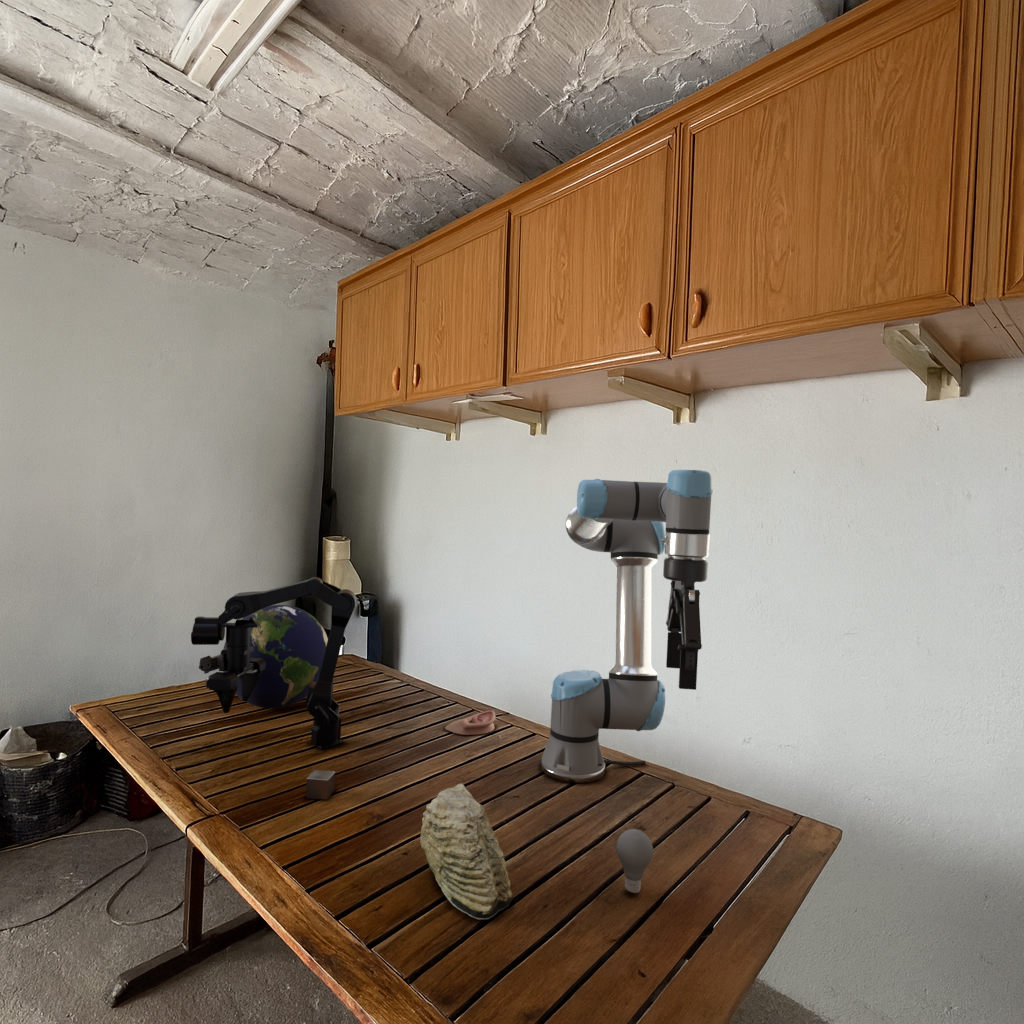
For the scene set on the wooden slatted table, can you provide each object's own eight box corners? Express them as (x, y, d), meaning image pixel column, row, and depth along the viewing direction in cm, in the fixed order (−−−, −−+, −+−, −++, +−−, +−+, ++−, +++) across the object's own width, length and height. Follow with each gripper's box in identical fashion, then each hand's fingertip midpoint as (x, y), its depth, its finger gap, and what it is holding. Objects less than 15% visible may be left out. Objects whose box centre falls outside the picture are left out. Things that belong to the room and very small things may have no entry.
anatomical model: (442, 717, 173) (454, 704, 184) (441, 732, 173) (453, 718, 184) (489, 723, 170) (498, 710, 181) (488, 738, 170) (498, 723, 181)
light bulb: (610, 879, 108) (613, 822, 108) (644, 879, 109) (647, 822, 109) (619, 902, 102) (622, 840, 102) (655, 901, 103) (658, 840, 103)
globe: (289, 685, 209) (292, 594, 208) (348, 705, 191) (352, 606, 191) (199, 706, 185) (203, 604, 184) (258, 732, 167) (262, 619, 167)
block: (313, 788, 137) (314, 769, 137) (334, 790, 137) (335, 771, 137) (305, 798, 133) (306, 778, 133) (326, 800, 133) (327, 780, 132)
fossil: (447, 853, 114) (450, 771, 114) (521, 902, 101) (525, 809, 101) (406, 873, 108) (410, 785, 107) (480, 928, 95) (484, 828, 94)
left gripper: (226, 634, 167) (224, 693, 168) (184, 651, 149) (182, 717, 149) (267, 637, 166) (265, 696, 167) (230, 654, 148) (228, 720, 148)
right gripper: (654, 551, 124) (649, 658, 125) (676, 563, 99) (669, 697, 100) (693, 553, 124) (688, 661, 124) (725, 565, 99) (718, 700, 99)
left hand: (235, 706), depth 158 cm, fingers open, 9 cm apart
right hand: (680, 677), depth 112 cm, fingers open, 13 cm apart
